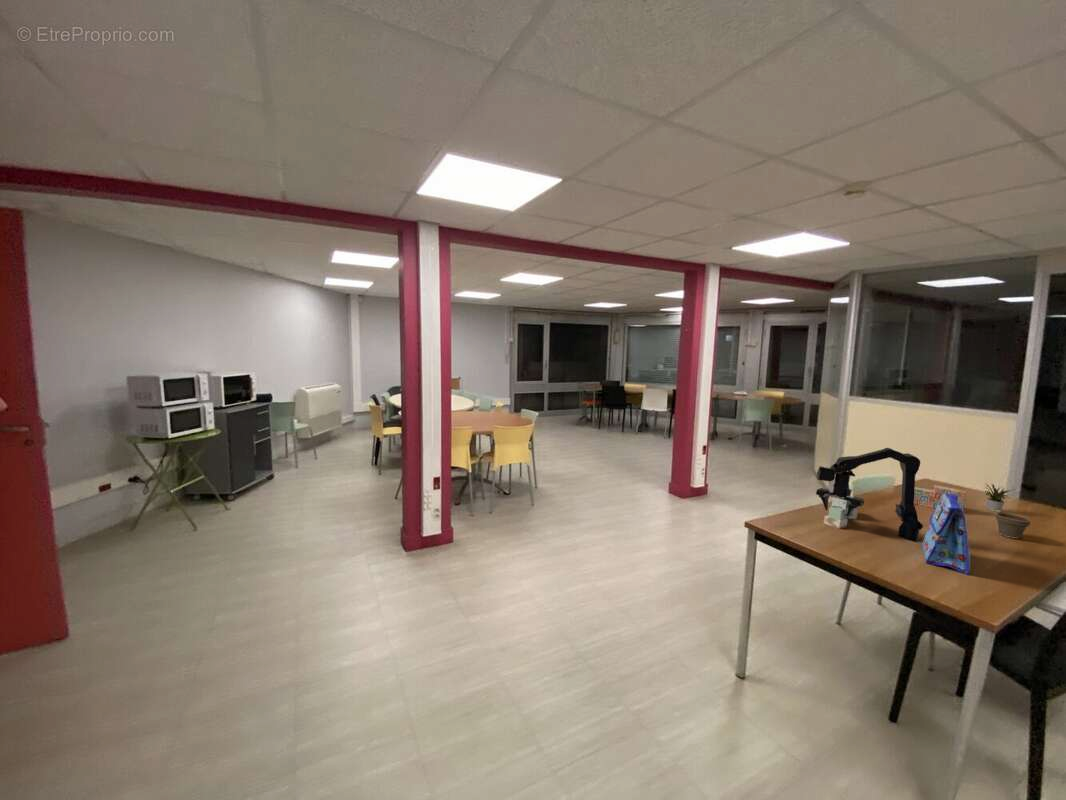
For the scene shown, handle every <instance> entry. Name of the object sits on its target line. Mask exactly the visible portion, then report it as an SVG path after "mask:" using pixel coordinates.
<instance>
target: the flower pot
mask: <svg viewBox="0 0 1066 800" xmlns="http://www.w3.org/2000/svg"><path fill="white" fill-rule="evenodd" d="M994 517H995V520H997V524H998V525H997V526H998V532H999V534H1000V533H1001V534H1003V535H1006V536H1010V537H1017V538H1019V537H1020V538H1021V537H1022V536H1023V534H1024V533H1025V530H1026V529H1027V527H1029V526H1030V525H1031V520H1030V519H1028V518H1026V517H1023V516H1020V515H1016V514H1011V513H1005V512H995V516H994ZM1020 538H1019V539H1020Z"/></svg>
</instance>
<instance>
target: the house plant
mask: <svg viewBox="0 0 1066 800" xmlns="http://www.w3.org/2000/svg"><path fill="white" fill-rule="evenodd" d="M983 487H984V488H985V489H987V490H986V491H983V493H985V496H988V497H987V498H986V509H987V508H988V509H992V510H1001V511H1002V509H1003V506H1004V505H1005V503H1006V502H1005V500H1006V499H1008V498H1009V499H1010V496H1008V495H1007V493H1008V492H1011V491H1014V490H1017V489H1016V488H1015V489H1013V488H1012V489H1009V490H1007V489H1006V488H1005V486H1003V488H1002V486H999V487H998V488H996V486H995V484H993V483H991V487H992V488H991V487H990V486H989V485H988V484H985V485H983ZM1001 488H1002V489H1001ZM992 489H993V490H992ZM1000 489H1001V490H1000ZM1005 489H1006V490H1005ZM999 490H1000V492H999ZM1005 494H1006V495H1005Z"/></svg>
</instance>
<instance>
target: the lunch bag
mask: <svg viewBox="0 0 1066 800" xmlns="http://www.w3.org/2000/svg"><path fill="white" fill-rule="evenodd" d="M958 497H959V495H956V494H952V493H950V494H946V493H943V494H942V497H941V500H940V501H939V503H938V505H937V507H936V509H935V508H934V510H933V512H932V513H931V515H930V517H929V526H928V529H927V531H926V533H925V535H924V538H923V541H922V543H921V546H922V550H923V554H924V558H925V559H924V560H925V563H926V564H928V565H930V566H931V565H932V566H933V565H936V566H942V567H946V566H947V567H949V568H951V569H953V570H955V571H958V572H959V573H962V574H964V573H965V574H964V575H969V574H970V569H971V554H970V544H969V543H970V542H969V536H968V529H967V522H966V515H965V512H964V509H963V510H962V508H961V507H960V506H959V504H958V502H957V501H958Z"/></svg>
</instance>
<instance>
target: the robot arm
mask: <svg viewBox="0 0 1066 800" xmlns="http://www.w3.org/2000/svg"><path fill="white" fill-rule="evenodd" d="M885 459H893V460H895V461H898V462H899V466H900V469H901V472H902V476H901V477H902V478H901V479H902V480H901V501H900V503H899V504H897V503H895V511H894V512H895V513H896V516H897V517H898V518H899V519H900V521H901V524H900V525H899V526H898V532H897V534H898V535H897V536H898V537H899V538H903V539H906V540H908V541H913V542H917V541H918V540H919V539H920V537H919V536H920V532H921V531H920V530H922V529H923V527H924V525H923V524H922V523H921V522H920V521H919V520H918V517H919V516H918V512H917V509H916V507H915V504H914V492H915V487H916V475H917V473H918V472H919V469H920V467H921V460H920V459H919V458H918V457H917V456H915V455H914V454H910V453H903V452H900V451H897V450H894V449H892V448H890V447H885V448H882V449H878V450H875V451H870V452H868V453H863V454H859V455H854V456H849V455H847V456H841V457H838V458H837V460H836V462H835V463H834V464H832V465H831V466H830V467H824V466H820V465H819V467H818V469H817V471H816V479H817V481H825V482H831V483H832V482H834V483H833V489H832V492H831V491H830V489H827V488H824V487H820V488H818V489H816V492H815V495H817V496H818V497H819V498H820V499H821V501H822V503H823V507H824V509H825V511H828V510H829V498H830V497H832V498H833V497H835V498H839V499H843V500H846V501H850V503H851V504H849V507H848V512H847V517H849V515H850V514H851V512H852V511H853V509H854V508H855V507H858V508H859V507H862V506H863V505H864V504H865V500H864V498H862V497H857V496H853V498H850V497H847V496H852V489H850V479H851V477H856V474H855V473H854V472H853V470H855V469H857V468H858V467H859V466H862V465H865V464H869V463H875V462H878V461H881V460H885ZM835 495H836V496H835ZM842 497H843V498H842Z"/></svg>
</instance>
